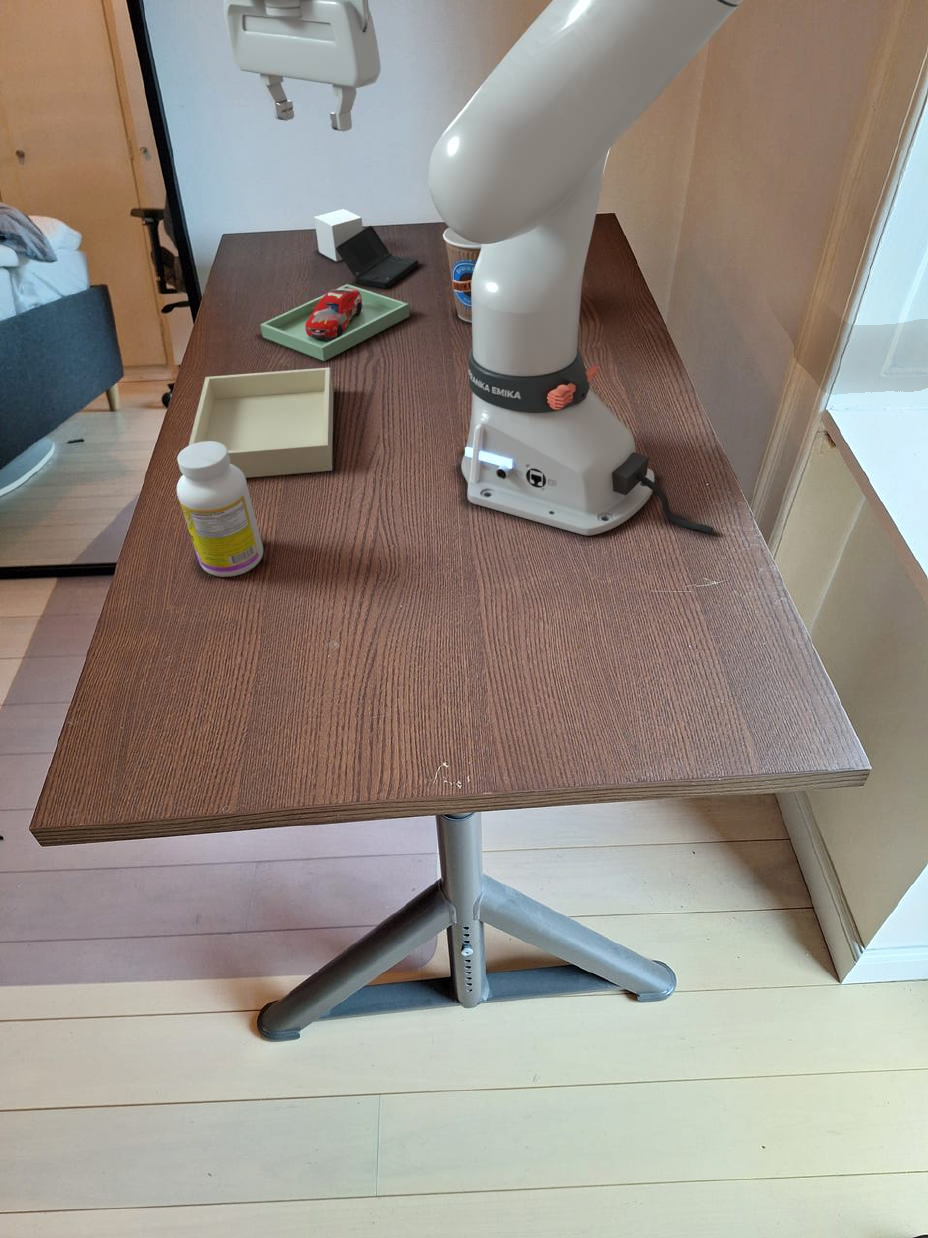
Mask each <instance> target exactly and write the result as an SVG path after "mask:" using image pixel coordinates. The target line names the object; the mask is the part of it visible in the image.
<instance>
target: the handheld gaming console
mask: <svg viewBox="0 0 928 1238" xmlns="http://www.w3.org/2000/svg"><path fill="white" fill-rule="evenodd" d="M336 250H337V252H338V253H339V255H340V256H341V258H342V259H343V260H342V261H343V262H344V264H345V265H346V266H347V268H348V270H349V271H350V272H351V274H352V275H353V276H354V277H355V283H356V284H358V285H362V286H363V285H364V286H369V287H375V288H380V289H381V288H382V289H386V290H387V289H388V288H390V287H391V286H393V285H394V284H395V283H396V282H398V281H399V280H401V279H402V278H403V277H405V276H406V275H407V274H409V273H410V272H412V271H413V270H414V269H416V268H417V267H418V266H419V260H418V259H416V258H411V257H404V256H398V255H393V254H392V253H391V252H390V251H389V250H388V247H386V245H385V244H384V241H382V239H381V238H380V235H378V233H377V231H376V230H375V229H374V226H372V225H369V226H367V227H365V228H363V230H362V231H361V232H359V233H358V234H356V235H355V236H353V237H351V238H350V239H348V240H347V241H345V242H344V243H342V244H340V245H339V246H337V247H336Z"/></svg>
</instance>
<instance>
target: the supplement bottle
mask: <svg viewBox="0 0 928 1238" xmlns="http://www.w3.org/2000/svg"><path fill="white" fill-rule="evenodd" d="M176 459H177V464H178V467H179V471H180V473H181V474H182V475H181V476H180V478H179V480H178V482H177V484H176V496H177V499H178V501H179V504H180V507H181V511H182V514H183V517H184V520H185V523H186V526H187V530H188V532H189V535H190V538H191V542H192V545H193V548H194V551H195V554H196V557H197V560H198V562H199V565H200V566H201V568H202V569H203V571H205V572H206V573H207V574H210V575H213V576H215V577H220V578H226V577H235V576H240V575H242V574H245V573H247V572H249V571H251V570H253V569H254V568H255V567H257V565H258V564H259V563H260V561H261V560H262V558H263V556H264V555H263V554H264V545H263V541H262V537H261V533H260V530H259V525H258V521H257V517H256V514H255V510H254V507H253V506H254V505H253V503H252V499H251V493H250V490H249V487H248V482H247V479H246V478H245V476H244V474H243V473H242V471H241V470H240V469H239V468H237V467H236V466H234V465H232V464H230V457H229V454H228V450H227V448H226V447H225V446H224V445H223V444H221V443H219V442H214V441H205V442H198V443H195V444H192V445H189V444H188V446H186V447H184V448H183V449H182V450H181V451H180V452H179V453H178V454H177V458H176Z"/></svg>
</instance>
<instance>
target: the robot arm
mask: <svg viewBox="0 0 928 1238" xmlns="http://www.w3.org/2000/svg"><path fill="white" fill-rule="evenodd" d="M743 2H744V0H551V2H550V3H549V4H548V5H547V6H546V7H545V8H544V10H543V11H542V12H541V13H540V14H539V16H538V17H537V18H536V19H535V20H534V21H533V22H532V23H531V24H530V26H529V27H528V28H527V30H525V32H524V33H523V34H522V35H521V36H520V38H519V39H518V40H517V41H516V42H515V44H514V45H513V46H512V47H511V48H510V49H509V51H508V52H507V53H506V55H505V56H504V57H503V58H502V60H500V62H499V63H498V64H497V65H496V66H495V68H494V69H493V70H492V71H491V72H490V74H489V75H488V77H487V78H486V79H485V80H484V82H483V83H482V84H481V85H480V86H479V88H478V89H477V91H475V92H474V94H473V96H471V98H470V99H469V100H468V103H466V104H465V105H464V107H463V109H462V110H461V111H460V112H459V113H458V114H457V116H456V117H455V118H454V119H453V120H452V122H450V124H449V125H448V127H447V128H446V130H444V132H443V133H442V134H441V136H440V138H439V139H438V140H437V142H436V143H435V146H434V148H433V149H432V152H431V155H430V160H429V164H428V175H427V176H428V186H429V187H428V188H429V192H430V196H431V200H432V202H433V205H434V208H435V210H436V211H437V213H438V215H439V217H440V218H441V219H442V221H443V223H445V225H446V226H447V227H448V228H450V229H451V230H453V231H454V232H455V233H456V234H458V235H459V236H461V237H462V238H464V239H466V240H469V241H471V242H474V243H479V244H482V247H481V251H480V254H479V257H478V260H477V262H476V265H475V267H474V271H473V275H472V281H471V303H472V323H471V337H472V338H471V339H472V343H471V344H472V346H471V348H470V350H469V352H468V385H469V388H470V390H471V392H472V396H471V397H472V399H471V412H470V413H471V414H470V422H469V431H468V436H467V440H466V441H467V442H466V447H465V448H464V454H463V456H462V458H461V459H462V460H461V465H460V466H461V472H462V476H463V477H464V479H465V481H466V482H467V491H466V492H467V493H466V497H467V500H468V502H469V503H471V504H474V505H477V506H481V507H484V508H487V509H491V510H494V511H499V512H501V513H505V514H508V515H513V516H516V517H519V518H522V519H526V520H529V521H532V522H533V521H534V522H537V523H540V524H544V525H547V526H551V527H554V528H558V529H560V530H565V531H568V532H572V533H575V534H579V535H581V536H582V535H583V536H588V537H589V536H594V535H599V534H602V533H605V532H608V531H611V530H612V529H614V528H617V527H618V526H621V524H624V523H625V522H626V521H628V520H629V519H631V517H633V516H635V514H636V513H637V512H639V511H640V510H641V509H642V507H644V506H645V504H646V503H647V502H648V500H649V499H650V498H651V496H652V494H653V492H654V494H655V495H656V496H657V497H658V498H659V500H660V503H661V508H662V513H663V514H664V516H665V517H666V518H667V519H668V520H669V521H670V522H672V523H673V524H675V525H677V526H679V527H682V528H684V529H689V530H693V531H697V532H703V533H707V534H709V535H711V534H712V532H713V531H714V527H713V526H710V525H707V524H702V523H697V522H692V521H689V520H688V521H687V520H684V519H682V518H680V517H678V516H677V515H675V514H674V513H673V512H672V510H671V508H670V503H669V500H668V497H667V495H666V493H665V491H664V490H662V488H661V487H660V486H658V485H657V483H655V472H654V471H653V470H652V469H650V468H649V463H650V456H647V455H644V454H641V453H638V452H637V451H636V443H635V438H634V436H633V433H632V431H631V430H630V429H629V428H628V427H627V426H626V425H625V424H624V423H623V422H622V421H621V420H620V419H619V418H618V417H617V416H616V414H615V413H614V412H613V411H612V410H611V409H610V408H609V407H608V406H607V405H606V404H605V403H604V402H603V401H602V400H601V398H600V397H599V396H598V395H597V394H596V393H595V392H594V391H593V390H592V389H591V387H590V386H591V385H590V381H592V380H593V379H594V378H596V376H597V375H599V372H598V368H599V366H600V365H599V364H595V365H594V366H592V367H591V368H589V369H588V370H586V366H585V362H584V360H583V356H582V354H581V350H580V348H579V346H578V345H579V331H580V315H581V302H582V301H581V300H582V289H583V279H584V274H585V266H586V261H587V258H588V252H589V248H590V243H591V239H592V235H593V231H594V226H595V221H596V217H597V211H598V206H599V201H600V196H601V190H602V184H603V179H604V173H605V168H606V165H607V160H608V157H609V153H610V150H611V148H612V147H613V146H614V145H615V144H616V142H618V140H619V139H620V138H621V137H622V136H623V135H624V134H625V133H626V132H627V131H628V130H629V129H630V128H631V126H632V125H633V124H635V123H636V121H638V119H639V118H640V117H641V116H642V115H643V114H644V113H645V112H646V111H647V110H648V109H649V107H651V105H653V103H654V102H655V101H657V99H658V98H660V96H661V95H662V94H663V93H664V92H665V90H667V88H668V87H669V86H670V85H671V84H672V83H673V82H674V80H676V79H677V77H678V76H679V74H681V72H682V71H683V70H684V69H685V68H686V67H687V65H688V64H690V62H691V61H692V60H693V59H694V58H695V56H696V55H697V54H698V53H699V52H700V51H701V50H702V49H703V47H704V46H705V45H706V44H707V43H708V41H709V40H710V39H711V38H712V37H713V36H714V35H715V33H716V32H718V30H719V29H720V28H721V27H722V26H723V24H724V23H725V22H726V21H727V20H728V19H729V17H731V15H732V14H733V13H734V12H735V11H736V9H737V8H738V7H740V5H741V4H742V3H743ZM223 17H224V23H225V29H226V36H227V40H228V44H229V48H230V53H231V56H232V59H233V61H234V63H235V64H236V66H237V67H238V69H239V70H240V71H241V72H245V73H253V74H259V76H260V82H261V86H262V88H263V90H264V91H265V93H266V95H267V97H268V98H269V99H268V100H270V102H271V104H272V109H273V115H274V118H275V119H276V120H278V121H285V122H286V121H289V120H293V119H294V118H295V111H294V105H293V104H294V103H293V101H292V100H290V99H288V97H287V95H286V93H285V90H284V88H283V86H282V83H284V79H285V78H287V79H293V80H300V81H306V82H313V83H320V84H327V85H331V86H332V91H333V96H334V97H337V99H336V104H335V109H334V111H330V112H329V117H330V121H331V124H330V125H331V129H332V130H333V131H338V132H347V131H350V130H351V129H352V127H353V122H352V121H353V120H352V112H351V111H352V109H353V106H354V103H355V100H356V97H357V94H358V93H357V89H359V88H363V87H367V86H370V85H373V84H375V83H377V82H378V80H379V77H380V75H381V70H382V68H381V67H382V66H381V58H380V52H379V45H378V39H377V34H376V29H375V25H374V20H373V16H372V13H371V10H370V5H369V0H223Z"/></svg>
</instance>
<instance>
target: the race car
mask: <svg viewBox="0 0 928 1238" xmlns="http://www.w3.org/2000/svg"><path fill="white" fill-rule="evenodd" d="M338 288H339V289H338ZM338 288H334V289H331V290H329V291H327V292H326V293H325V294H323V295H324V296H323V295H322V296H323V298H322V299H321V300H320V301H319V303H318V304H317V306H316V308H315V307H314V306H313V307H312V309H314V312H313V313H312V315H311V316H310V317H309V319H308V320H307V321H306V324H305V329H306V333H307V335H308V336H310V337H313V338H319V339H329V338H334V337H335V338H338V337H340V336H341V335H342V331H344V330H345V329H346V328H347V326H348V325H349V324H350V323H351V322H352V321H353V320H354V318H355V317H356V316H359V315H360V313H361V309H362V307H363V305H362V298H361V295H360V292H359V291H358V290H356V289H348V288H340V287H338Z"/></svg>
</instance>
